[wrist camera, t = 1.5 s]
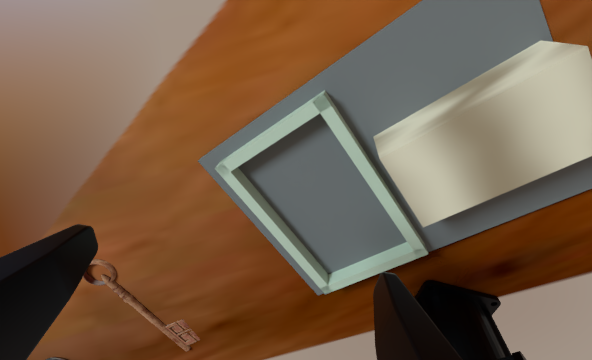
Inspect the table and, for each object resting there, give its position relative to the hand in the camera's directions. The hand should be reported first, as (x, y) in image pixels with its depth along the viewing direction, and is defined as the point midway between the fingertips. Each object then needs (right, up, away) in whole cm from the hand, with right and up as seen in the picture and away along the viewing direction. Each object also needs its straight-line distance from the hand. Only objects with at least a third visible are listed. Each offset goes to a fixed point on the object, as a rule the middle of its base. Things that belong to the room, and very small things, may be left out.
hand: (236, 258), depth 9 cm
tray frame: (+4, +1, +13) cm, 14 cm away
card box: (+13, +6, +10) cm, 17 cm away
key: (-14, -11, +23) cm, 29 cm away
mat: (+8, +3, +12) cm, 15 cm away
